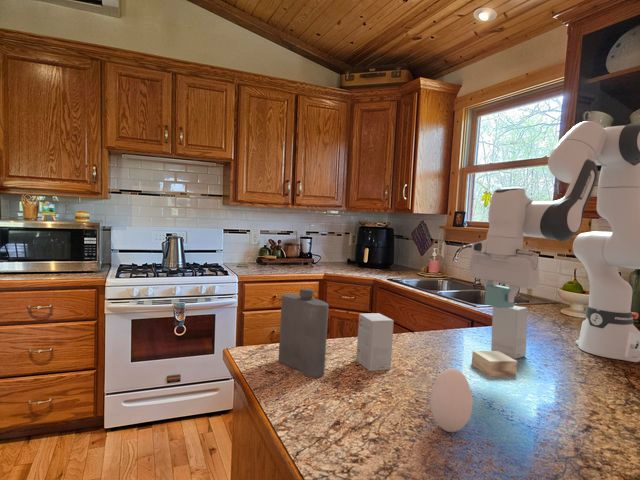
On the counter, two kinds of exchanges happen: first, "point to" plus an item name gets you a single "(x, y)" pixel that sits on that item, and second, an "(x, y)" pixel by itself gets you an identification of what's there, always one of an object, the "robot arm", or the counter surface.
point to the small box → (374, 341)
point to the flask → (303, 333)
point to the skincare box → (509, 331)
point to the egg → (451, 400)
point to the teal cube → (497, 296)
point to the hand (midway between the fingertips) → (499, 299)
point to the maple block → (494, 363)
